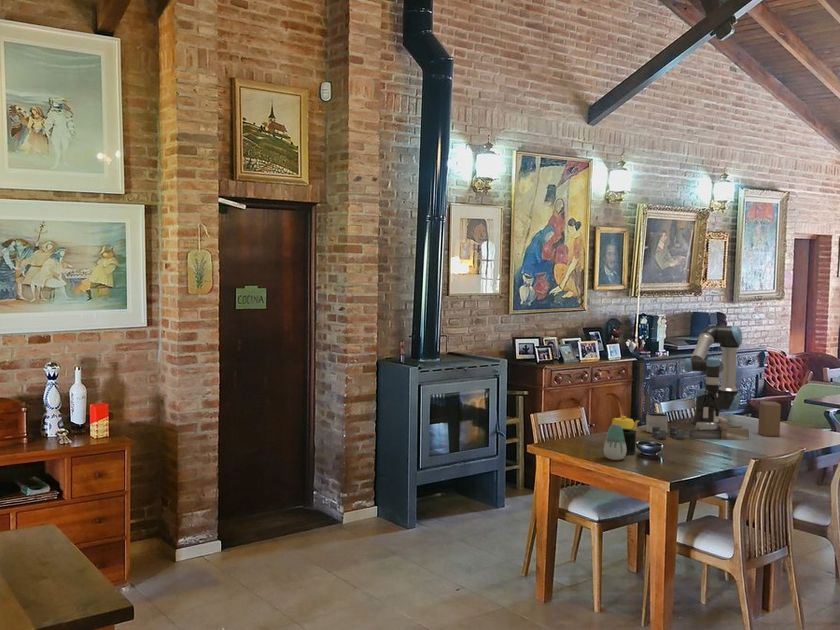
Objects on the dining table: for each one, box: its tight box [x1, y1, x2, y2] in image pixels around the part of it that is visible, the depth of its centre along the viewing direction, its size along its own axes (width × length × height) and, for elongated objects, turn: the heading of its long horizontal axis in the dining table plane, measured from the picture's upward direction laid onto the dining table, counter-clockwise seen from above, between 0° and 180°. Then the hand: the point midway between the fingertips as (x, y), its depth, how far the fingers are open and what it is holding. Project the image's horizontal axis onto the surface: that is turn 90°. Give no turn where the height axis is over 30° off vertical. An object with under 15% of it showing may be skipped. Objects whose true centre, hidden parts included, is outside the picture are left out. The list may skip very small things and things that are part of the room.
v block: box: [651, 426, 685, 441], centre depth 476 cm, size 11×15×6 cm
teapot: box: [611, 415, 640, 431], centre depth 473 cm, size 14×20×13 cm
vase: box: [603, 423, 627, 461], centre depth 417 cm, size 12×12×18 cm
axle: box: [695, 421, 730, 431], centre depth 479 cm, size 18×5×5 cm, turn 96°
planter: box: [645, 412, 669, 434], centre depth 493 cm, size 13×13×11 cm
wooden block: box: [757, 400, 782, 438], centre depth 492 cm, size 10×10×20 cm
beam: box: [688, 416, 750, 441], centre depth 479 cm, size 9×35×12 cm, turn 96°
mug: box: [623, 429, 638, 455], centre depth 434 cm, size 11×15×12 cm
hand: (710, 419), depth 478 cm, fingers open, 13 cm apart
